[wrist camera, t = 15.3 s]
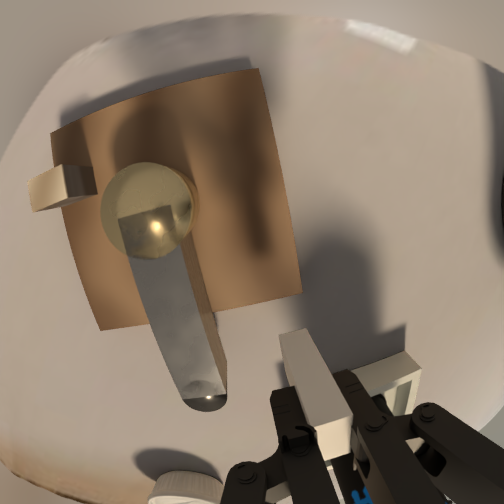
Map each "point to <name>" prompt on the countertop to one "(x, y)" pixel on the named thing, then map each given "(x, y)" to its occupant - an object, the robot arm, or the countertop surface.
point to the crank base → (204, 179)
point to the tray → (391, 383)
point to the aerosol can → (351, 479)
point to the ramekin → (186, 489)
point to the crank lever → (168, 274)
